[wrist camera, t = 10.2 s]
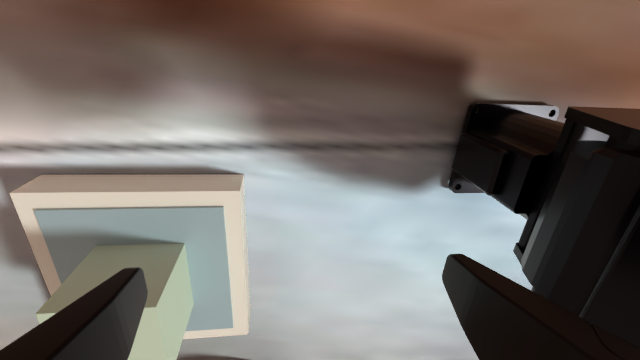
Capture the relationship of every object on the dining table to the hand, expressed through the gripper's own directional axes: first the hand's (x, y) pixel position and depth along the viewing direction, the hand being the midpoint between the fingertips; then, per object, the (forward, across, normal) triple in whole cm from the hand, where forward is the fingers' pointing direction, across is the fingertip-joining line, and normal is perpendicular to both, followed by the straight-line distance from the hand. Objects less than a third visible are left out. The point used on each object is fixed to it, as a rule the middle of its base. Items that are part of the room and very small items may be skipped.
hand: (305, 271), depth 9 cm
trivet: (+12, +9, +8) cm, 17 cm away
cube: (+9, +9, +8) cm, 15 cm away
